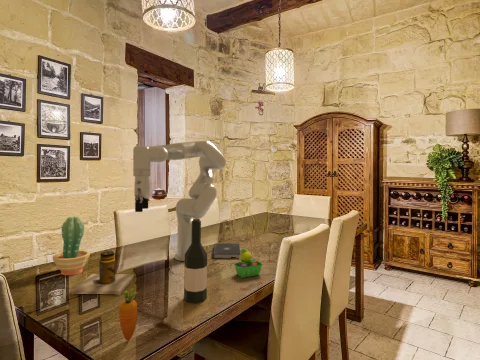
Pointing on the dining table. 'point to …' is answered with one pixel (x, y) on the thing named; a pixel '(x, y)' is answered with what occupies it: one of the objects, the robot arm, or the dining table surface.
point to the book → (226, 250)
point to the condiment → (106, 269)
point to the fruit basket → (247, 265)
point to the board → (115, 288)
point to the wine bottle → (195, 267)
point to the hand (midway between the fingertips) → (141, 210)
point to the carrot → (128, 315)
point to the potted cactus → (71, 248)
